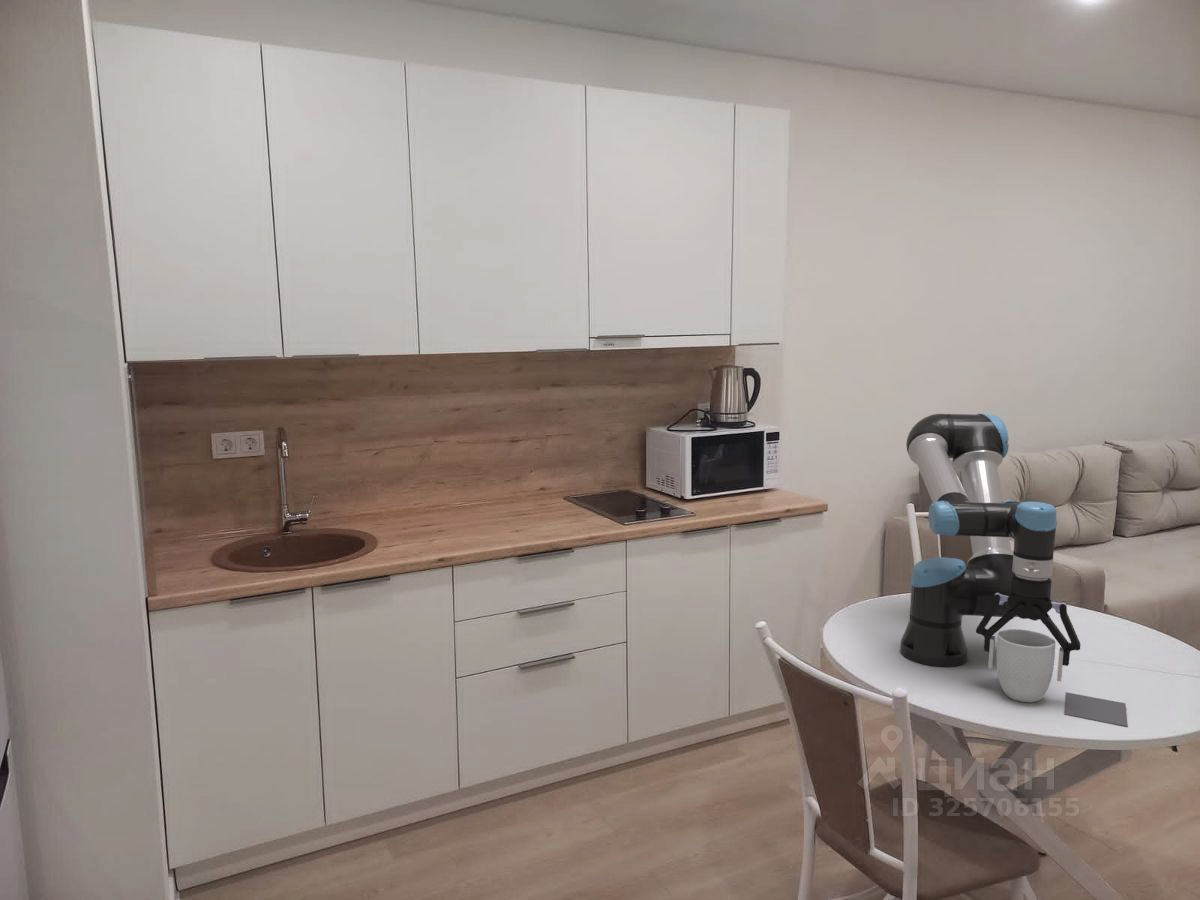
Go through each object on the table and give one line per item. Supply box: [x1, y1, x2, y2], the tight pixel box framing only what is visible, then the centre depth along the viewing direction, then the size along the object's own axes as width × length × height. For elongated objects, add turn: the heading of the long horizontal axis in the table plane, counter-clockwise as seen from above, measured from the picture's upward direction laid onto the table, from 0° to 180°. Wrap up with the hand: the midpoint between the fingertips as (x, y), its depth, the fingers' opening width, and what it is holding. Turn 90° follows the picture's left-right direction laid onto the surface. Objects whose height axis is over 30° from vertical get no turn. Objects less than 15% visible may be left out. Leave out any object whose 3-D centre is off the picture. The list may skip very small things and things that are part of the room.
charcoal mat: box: [1063, 691, 1129, 728], centre depth 174 cm, size 11×12×1 cm
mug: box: [995, 628, 1056, 703], centre depth 181 cm, size 15×11×13 cm
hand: (1024, 672), depth 180 cm, fingers open, 12 cm apart
